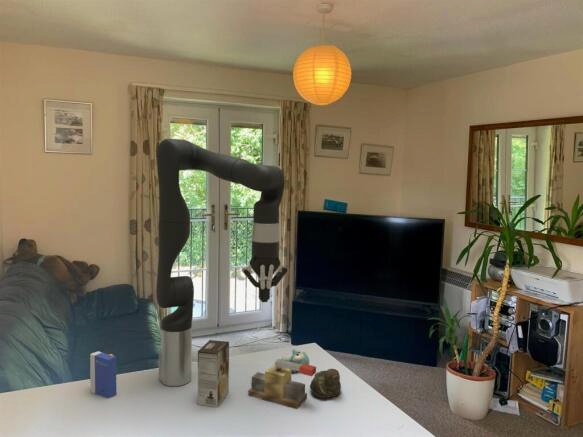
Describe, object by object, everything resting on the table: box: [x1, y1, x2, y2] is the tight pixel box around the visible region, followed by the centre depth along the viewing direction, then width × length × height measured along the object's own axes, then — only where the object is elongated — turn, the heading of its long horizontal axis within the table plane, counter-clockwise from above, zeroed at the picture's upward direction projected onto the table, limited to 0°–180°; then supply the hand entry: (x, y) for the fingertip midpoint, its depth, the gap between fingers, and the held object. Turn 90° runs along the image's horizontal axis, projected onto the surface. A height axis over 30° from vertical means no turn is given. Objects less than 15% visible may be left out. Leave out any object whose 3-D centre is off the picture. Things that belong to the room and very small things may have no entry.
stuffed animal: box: [274, 348, 310, 374], centre depth 153 cm, size 11×7×12 cm
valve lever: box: [274, 358, 317, 377], centre depth 129 cm, size 12×3×3 cm, turn 63°
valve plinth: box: [247, 364, 308, 410], centre depth 132 cm, size 16×7×8 cm, turn 65°
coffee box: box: [197, 339, 230, 408], centre depth 130 cm, size 9×6×16 cm
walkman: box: [89, 351, 117, 399], centre depth 131 cm, size 8×3×12 cm, turn 63°
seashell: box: [309, 368, 342, 399], centre depth 136 cm, size 11×12×10 cm
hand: (264, 301), depth 123 cm, fingers closed
